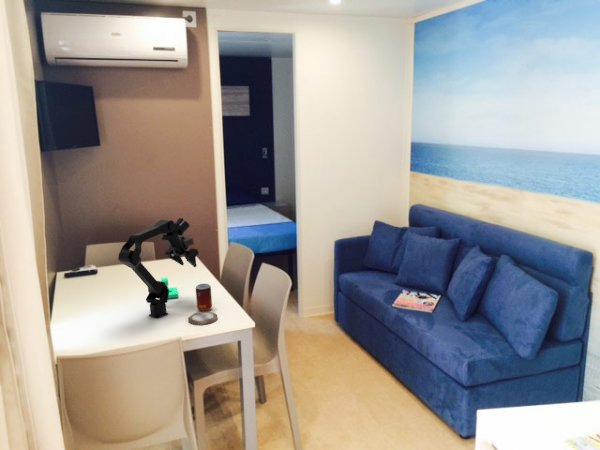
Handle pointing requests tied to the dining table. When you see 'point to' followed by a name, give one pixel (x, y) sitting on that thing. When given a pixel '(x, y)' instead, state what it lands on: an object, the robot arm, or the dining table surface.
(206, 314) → the brown rimmed plate
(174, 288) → the camera mount
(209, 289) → the soda can
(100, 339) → the dining table surface
